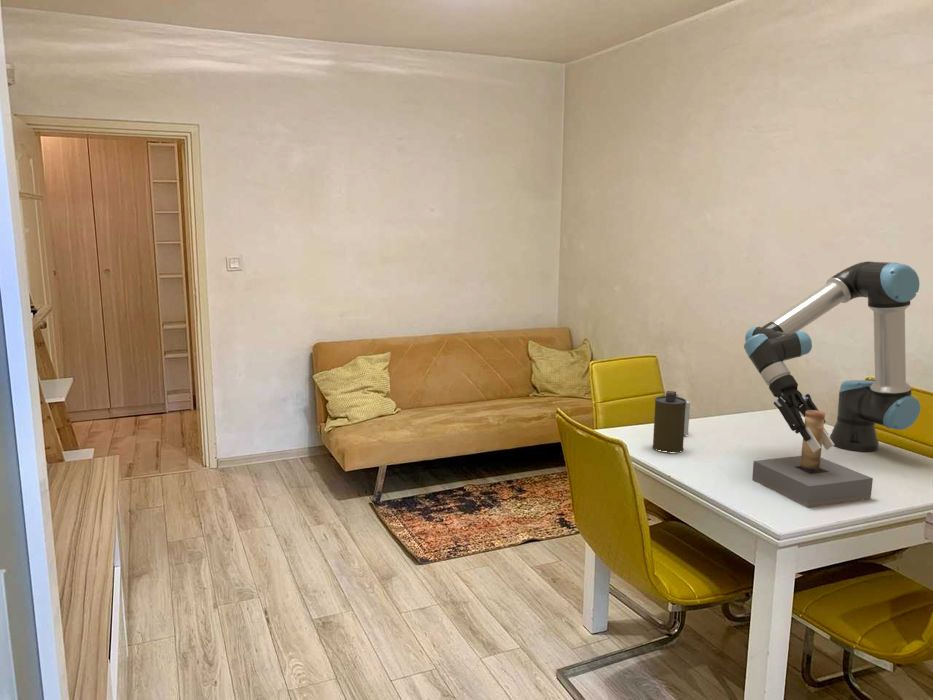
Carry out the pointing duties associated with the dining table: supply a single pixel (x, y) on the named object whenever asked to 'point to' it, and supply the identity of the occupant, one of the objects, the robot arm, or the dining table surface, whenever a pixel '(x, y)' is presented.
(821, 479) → the socket block
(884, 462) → the dining table surface
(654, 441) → the canister
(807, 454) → the oak peg
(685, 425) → the supplement box
